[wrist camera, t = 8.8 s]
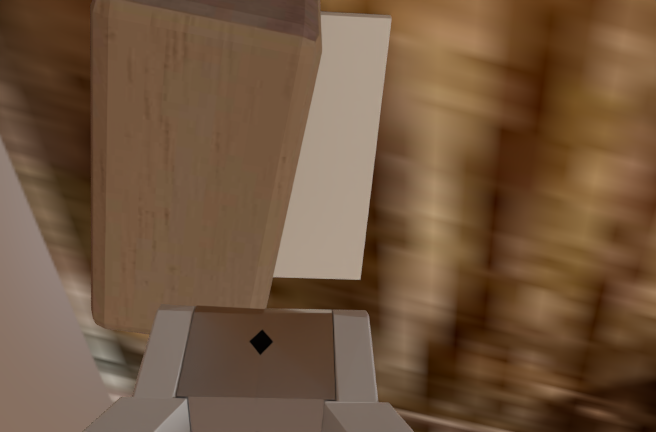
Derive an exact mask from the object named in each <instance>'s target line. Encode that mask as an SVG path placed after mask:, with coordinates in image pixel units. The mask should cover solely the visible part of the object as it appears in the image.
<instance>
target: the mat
mask: <svg viewBox="0 0 656 432" xmlns="http://www.w3.org/2000/svg"><path fill="white" fill-rule="evenodd" d="M390 27H391V16H390V15H375V14H356V13H337V12H321V34H322V55H321V60H320V64H319V69H318V73H317V78H316V82H315V87H314V92H313V96H312V101H311V105H310V110H309V114H308V119H307V124H306V128H305V133H304V137H303V142H302V146H301V151H300V156H299V160H298V165H297V169H296V174H295V178H294V183H293V188H292V192H291V197H290V201H289V206H288V210H287V215H286V220H285V224H284V229H283V233H282V238H281V242H280V247H279V252H278V256H277V261H276V265H275V270H274V274H273V277H290V278H324V279H357V280H360V277H361V269H362V261H363V252H364V244H365V236H366V227H367V219H368V211H369V202H370V194H371V186H372V177H373V169H374V161H375V152H376V144H377V135H378V127H379V119H380V110H381V102H382V94H383V85H384V77H385V69H386V60H387V52H388V44H389V35H390Z"/></svg>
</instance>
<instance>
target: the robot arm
mask: <svg viewBox="0 0 656 432" xmlns="http://www.w3.org/2000/svg"><path fill="white" fill-rule="evenodd" d="M82 432H414V431H413V430H412V429H411V428H410V427H409V426H408V425H407V423H406V422H405V421H404V420H403V419H402V418H401V416H400V415H399V414H398V413H397V412H396V411H395V409H394V408H393V407H392V406H391V405H390V404H389V403H383V402H378V396H377V386H376V377H375V368H374V359H373V349H372V340H371V331H370V322H369V315H368V313H367V312H366V310H332V311H331V310H315V309H255V308H236V307H218V306H199V305H197V306H185V305H168V304H161V305H160V307H159V308H158V310H157V311H156V313H155V317H154V321H153V324H152V328H151V331H150V335H149V338H148V342H147V345H146V349H145V352H144V356H143V359H142V363H141V367H140V370H139V374H138V377H137V381H136V384H135V388H134V391H133V395H132V397H120V398H119V399H118V400H117V401H116V402H115V403H114V404H113V405H112V406H110V407H109V408H108V409H107V410H106V411H105V412H104V413H103V414H101V415H100V416H99V417H98V418H97V419H96V420H95V421H94V422H92V423H91V424H90V425H89V426H88V427H87V428H86V429H85V430H84V431H82Z"/></svg>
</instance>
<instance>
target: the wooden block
mask: <svg viewBox="0 0 656 432" xmlns="http://www.w3.org/2000/svg"><path fill="white" fill-rule="evenodd" d="M90 55H91V310H92V315H93V319H94V321H95V323H96V324H97V325H99V326H101V327H103V328H105V329H113V330H120V331H128V332H136V333H143V334H150V331H151V328H152V324H153V321H154V317H155V313H156V311H157V310H158V308H159V307H160V305H161V304H168V305H185V306H197V305H199V306H218V307H236V308H255V309H266V306H267V302H268V297H269V293H270V288H271V284H272V279H273V274H274V270H275V265H276V261H277V256H278V252H279V247H280V242H281V238H282V233H283V229H284V224H285V220H286V215H287V210H288V206H289V201H290V197H291V192H292V188H293V183H294V178H295V174H296V169H297V165H298V160H299V156H300V151H301V146H302V142H303V137H304V133H305V128H306V124H307V119H308V114H309V110H310V105H311V101H312V96H313V92H314V87H315V82H316V78H317V73H318V69H319V64H320V60H321V55H322V34H321V11H320V0H92V2H91V4H90Z"/></svg>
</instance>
